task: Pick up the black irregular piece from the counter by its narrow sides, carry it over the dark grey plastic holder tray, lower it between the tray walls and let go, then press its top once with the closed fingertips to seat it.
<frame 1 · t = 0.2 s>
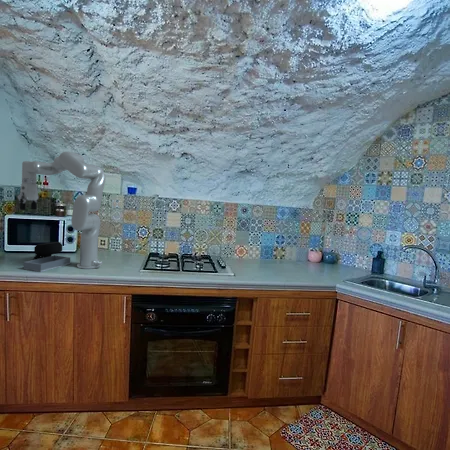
hand: (28, 209, 196), 30 cm above the worktop, tool pointing down, fingers open, 9 cm apart
black irregular piece: (47, 259, 198), on the worktop
holder tray: (48, 266, 181), on the worktop
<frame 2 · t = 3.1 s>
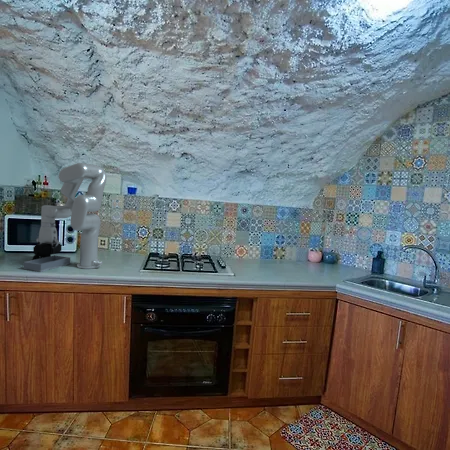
hand: (47, 253, 198), 4 cm above the worktop, tool pointing down, fingers closed on black irregular piece, 7 cm apart
black irregular piece: (46, 259, 198), on the worktop, touching gripper
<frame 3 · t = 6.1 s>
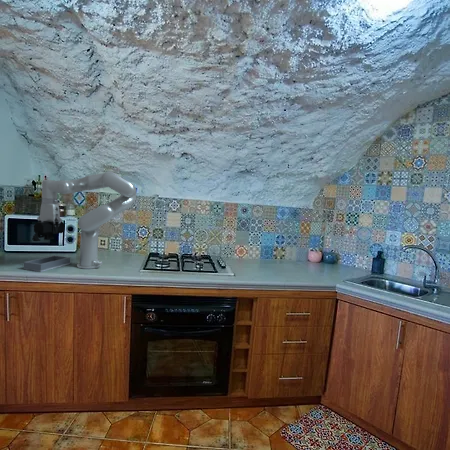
hand: (49, 232, 181), 19 cm above the worktop, tool pointing down, fingers closed on black irregular piece, 7 cm apart
black irregular piece: (48, 239, 181), point 15 cm above the worktop, touching gripper
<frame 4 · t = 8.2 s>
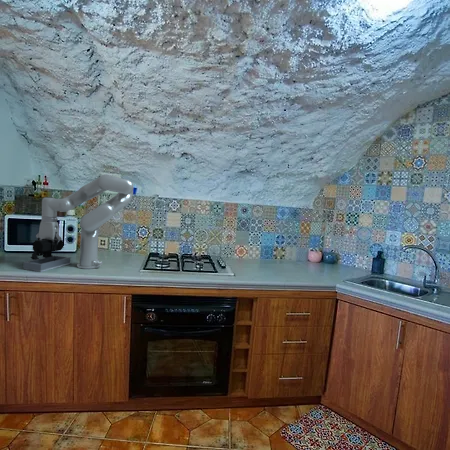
hand: (48, 250, 180), 9 cm above the worktop, tool pointing down, fingers closed on black irregular piece, 7 cm apart
black irregular piece: (46, 257, 180), point 5 cm above the worktop, touching gripper
when the fingers open (7 cm above the worktop, at t = 9.4 s): black irregular piece drops 2 cm, resting on holder tray.
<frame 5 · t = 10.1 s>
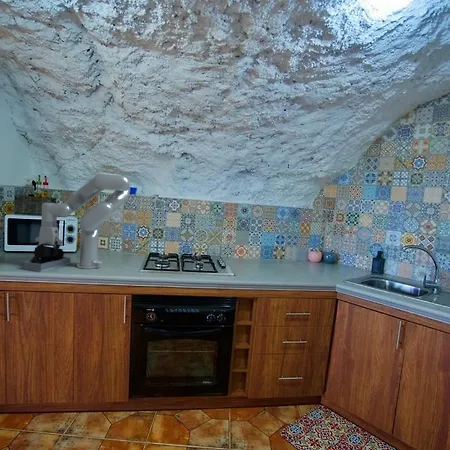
hand: (48, 254, 181), 7 cm above the worktop, tool pointing down, fingers open, 9 cm apart
black irregular piece: (45, 264, 179), point 1 cm above the worktop, touching holder tray
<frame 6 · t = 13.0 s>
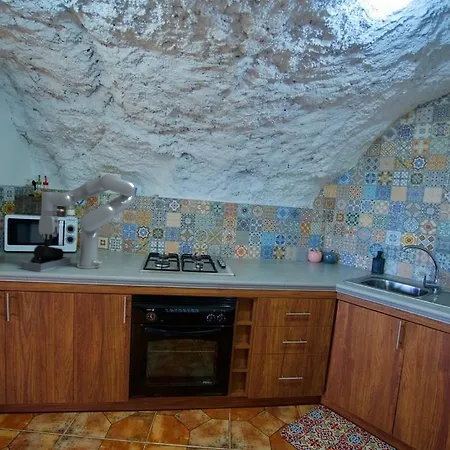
hand: (47, 245, 180), 12 cm above the worktop, tool pointing down, fingers closed
black irregular piece: (45, 264, 179), point 1 cm above the worktop, touching gripper, holder tray
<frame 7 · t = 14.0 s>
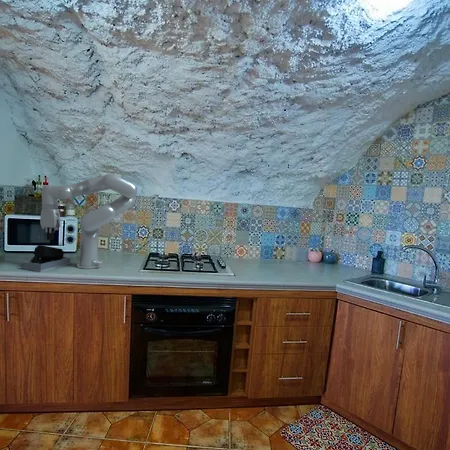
hand: (50, 239, 180), 16 cm above the worktop, tool pointing down, fingers closed
black irregular piece: (45, 264, 179), point 1 cm above the worktop, touching holder tray
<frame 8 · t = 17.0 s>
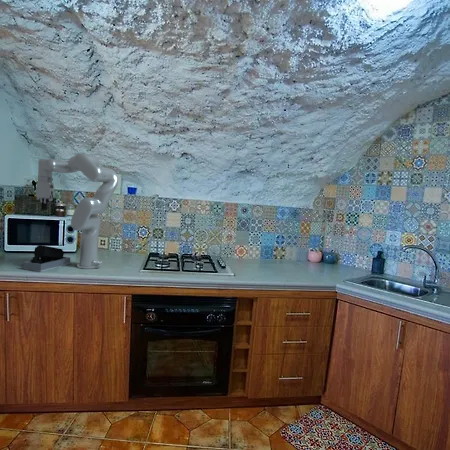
hand: (44, 209, 195), 31 cm above the worktop, tool pointing down, fingers closed
nothing on the worktop moved.
at the end: black irregular piece inside the target area on the holder tray (1.8 cm from its centre), point 1.5 cm above the holder tray's base; black irregular piece tilted 16°; the gripper is holding nothing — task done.
